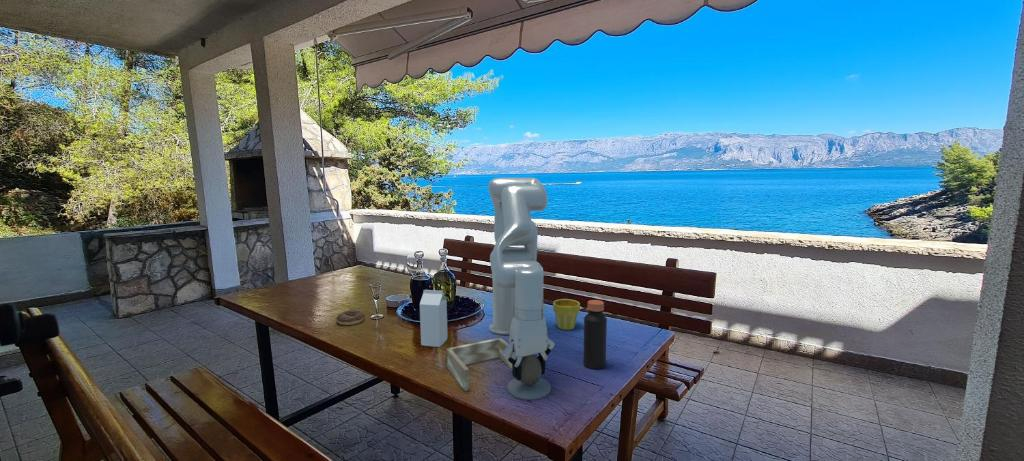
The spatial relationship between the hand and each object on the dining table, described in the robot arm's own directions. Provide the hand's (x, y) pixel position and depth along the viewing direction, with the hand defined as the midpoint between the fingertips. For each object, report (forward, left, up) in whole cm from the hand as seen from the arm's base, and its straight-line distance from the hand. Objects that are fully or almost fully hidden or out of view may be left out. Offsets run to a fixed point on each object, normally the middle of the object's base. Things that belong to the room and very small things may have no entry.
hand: (529, 374), depth 112 cm
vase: (0, 0, -2) cm, 2 cm away
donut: (+38, -80, -4) cm, 89 cm away
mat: (0, 0, -4) cm, 4 cm away
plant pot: (-36, -34, -4) cm, 49 cm away
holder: (+7, -15, -4) cm, 17 cm away
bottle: (-25, -3, -4) cm, 25 cm away
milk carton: (+14, -43, -4) cm, 45 cm away
